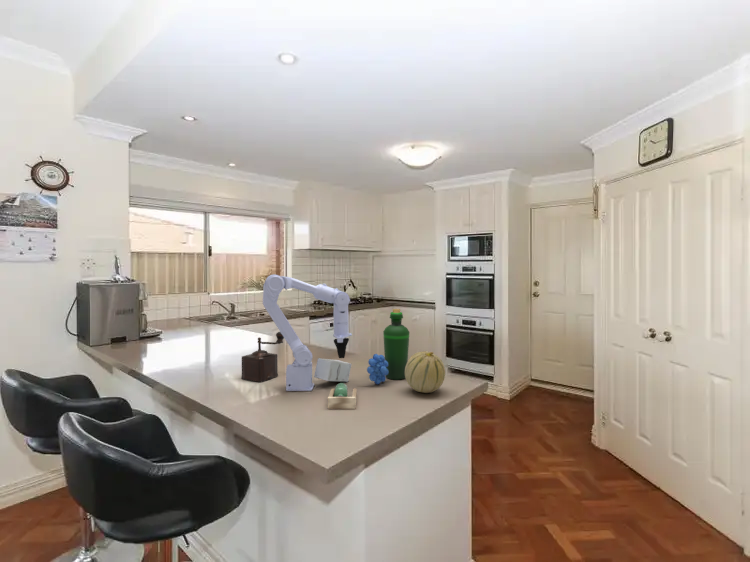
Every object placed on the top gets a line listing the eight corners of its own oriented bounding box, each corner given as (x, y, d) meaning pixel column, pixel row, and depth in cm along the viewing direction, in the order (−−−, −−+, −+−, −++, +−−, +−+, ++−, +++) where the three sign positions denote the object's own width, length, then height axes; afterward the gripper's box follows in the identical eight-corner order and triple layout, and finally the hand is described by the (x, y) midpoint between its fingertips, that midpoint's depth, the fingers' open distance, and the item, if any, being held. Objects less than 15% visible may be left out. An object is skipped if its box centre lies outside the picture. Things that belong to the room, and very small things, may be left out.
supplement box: (348, 382, 160) (327, 381, 150) (334, 377, 164) (313, 377, 154) (352, 363, 161) (331, 361, 151) (338, 359, 165) (317, 357, 155)
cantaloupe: (410, 384, 157) (411, 345, 156) (448, 388, 152) (449, 348, 151) (399, 395, 143) (399, 353, 143) (440, 400, 138) (440, 356, 137)
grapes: (376, 389, 149) (376, 357, 149) (363, 386, 154) (363, 354, 154) (396, 383, 158) (396, 352, 158) (383, 379, 163) (383, 350, 162)
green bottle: (338, 397, 144) (337, 408, 132) (333, 386, 143) (331, 396, 132) (349, 391, 144) (349, 402, 132) (344, 380, 143) (343, 390, 132)
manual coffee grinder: (261, 383, 158) (261, 337, 157) (240, 379, 163) (240, 334, 162) (287, 373, 171) (287, 331, 171) (268, 370, 177) (267, 329, 176)
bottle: (409, 374, 171) (409, 308, 170) (409, 381, 160) (409, 310, 159) (384, 373, 172) (384, 307, 171) (382, 380, 161) (382, 310, 160)
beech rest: (327, 408, 130) (327, 398, 129) (331, 395, 143) (331, 385, 143) (355, 408, 130) (355, 397, 130) (356, 395, 143) (356, 385, 143)
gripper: (350, 325, 148) (351, 362, 148) (352, 319, 162) (352, 353, 163) (331, 325, 148) (332, 362, 148) (334, 319, 162) (335, 353, 163)
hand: (341, 357), depth 155 cm, fingers closed
